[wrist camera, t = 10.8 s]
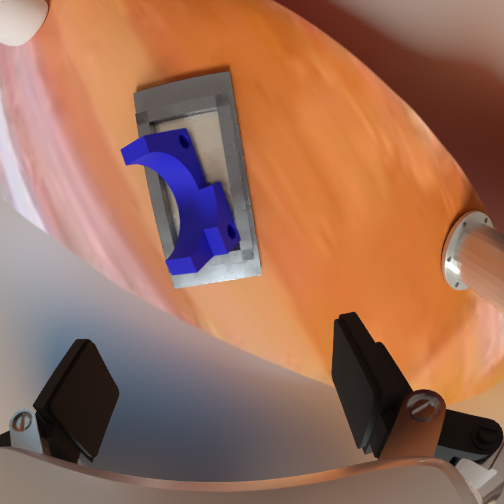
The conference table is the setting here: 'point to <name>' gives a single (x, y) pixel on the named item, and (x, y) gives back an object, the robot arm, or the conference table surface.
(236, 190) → the grey rectangular tray
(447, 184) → the conference table surface
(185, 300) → the conference table surface
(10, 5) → the pill bottle
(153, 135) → the cable clip
